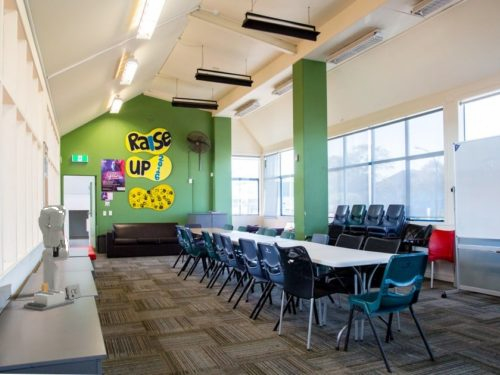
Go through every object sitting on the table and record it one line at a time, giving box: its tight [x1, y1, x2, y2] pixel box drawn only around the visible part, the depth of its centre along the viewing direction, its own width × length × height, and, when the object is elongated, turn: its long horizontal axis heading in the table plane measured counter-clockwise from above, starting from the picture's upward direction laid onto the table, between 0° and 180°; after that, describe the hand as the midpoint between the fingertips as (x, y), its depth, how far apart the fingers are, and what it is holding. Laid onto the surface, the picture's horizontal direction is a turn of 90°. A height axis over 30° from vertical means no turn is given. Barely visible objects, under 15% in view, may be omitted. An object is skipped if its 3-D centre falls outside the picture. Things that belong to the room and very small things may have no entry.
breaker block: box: [23, 289, 75, 312], centre depth 252 cm, size 19×21×9 cm
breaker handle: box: [41, 283, 48, 292], centre depth 254 cm, size 2×3×5 cm, turn 152°
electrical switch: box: [64, 283, 82, 300], centre depth 270 cm, size 9×5×9 cm, turn 152°
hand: (55, 256), depth 268 cm, fingers closed
